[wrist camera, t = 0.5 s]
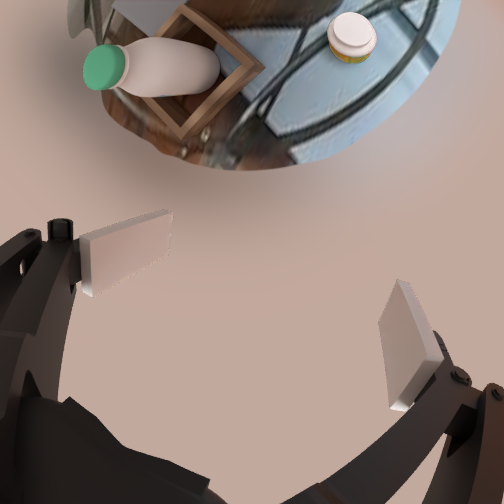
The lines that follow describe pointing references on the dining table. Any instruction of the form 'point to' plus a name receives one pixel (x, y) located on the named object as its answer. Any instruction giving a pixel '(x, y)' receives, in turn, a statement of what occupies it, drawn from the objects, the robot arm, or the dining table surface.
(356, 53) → the supplement bottle
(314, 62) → the dining table surface
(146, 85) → the milk bottle
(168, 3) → the rubber mat
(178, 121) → the walnut crate
